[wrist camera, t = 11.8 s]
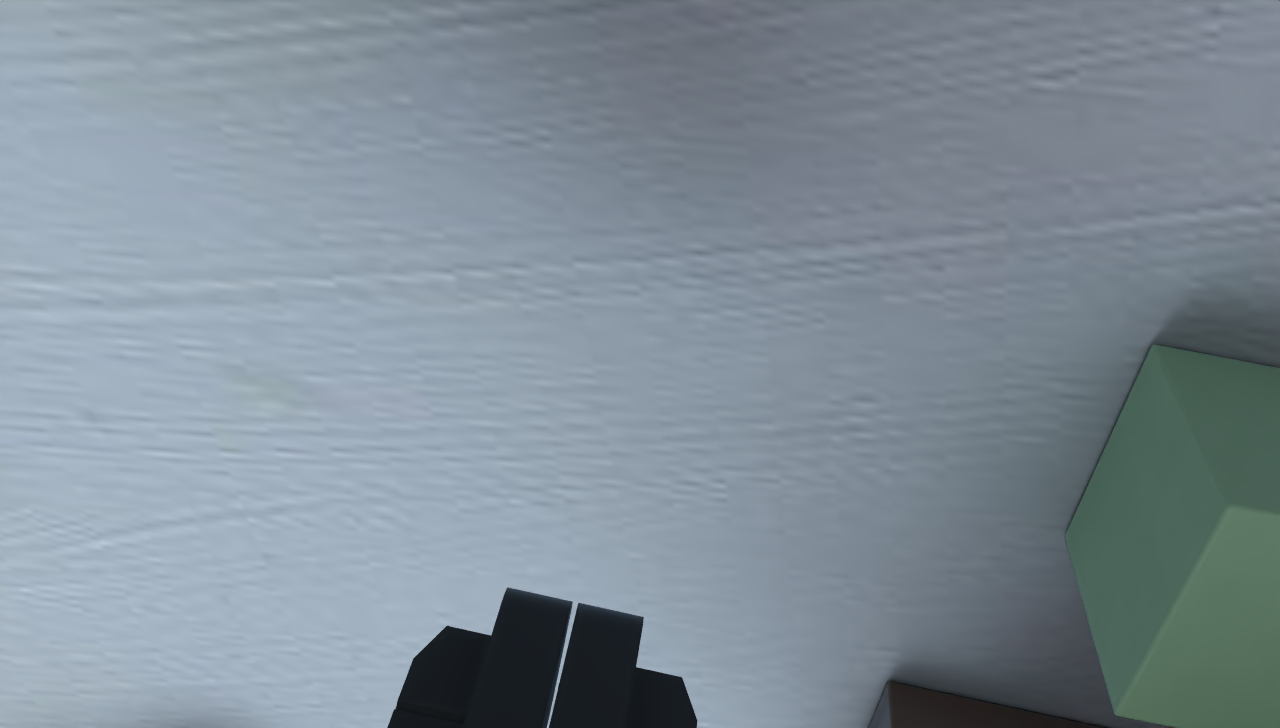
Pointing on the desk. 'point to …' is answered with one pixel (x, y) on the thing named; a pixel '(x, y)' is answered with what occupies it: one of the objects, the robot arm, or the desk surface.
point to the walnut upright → (953, 712)
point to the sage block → (1187, 545)
